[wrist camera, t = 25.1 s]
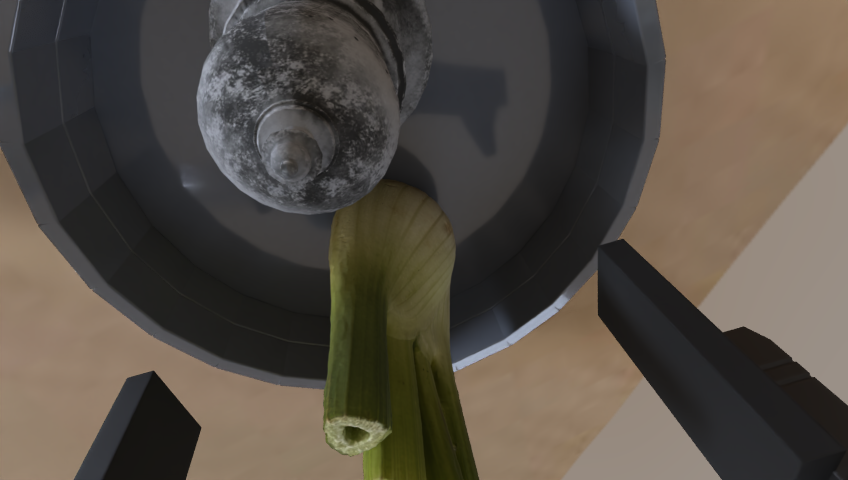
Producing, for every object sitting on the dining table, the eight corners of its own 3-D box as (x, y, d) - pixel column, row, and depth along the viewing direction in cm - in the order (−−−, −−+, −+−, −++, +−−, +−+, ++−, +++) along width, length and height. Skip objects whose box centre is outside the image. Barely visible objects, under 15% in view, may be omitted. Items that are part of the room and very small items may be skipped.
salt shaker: (277, 135, 16) (157, 406, 6) (206, -50, 13) (-272, -114, 3) (430, 101, 16) (557, 309, 6) (396, -92, 13) (542, -288, 3)
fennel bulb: (320, 163, 17) (276, 442, 7) (443, 151, 18) (570, 397, 7) (341, 281, 20) (331, 594, 10) (446, 269, 21) (537, 555, 11)
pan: (235, 358, 22) (212, 437, 19) (-74, -105, 12) (-266, -138, 8) (596, 262, 23) (645, 321, 19) (593, -280, 12) (703, -393, 8)
